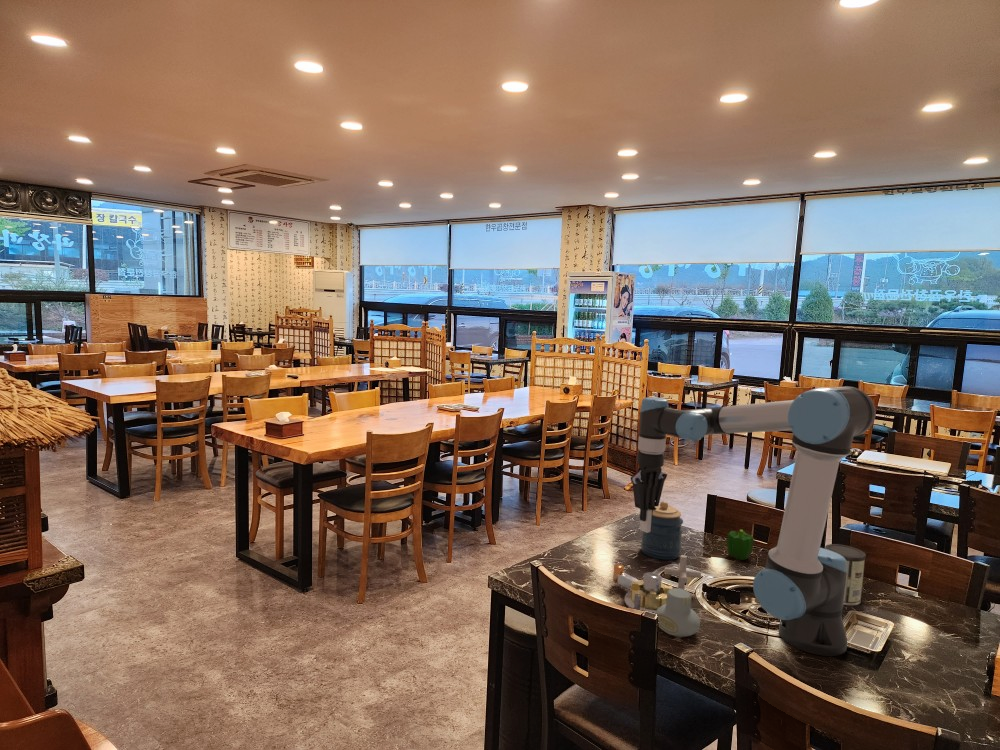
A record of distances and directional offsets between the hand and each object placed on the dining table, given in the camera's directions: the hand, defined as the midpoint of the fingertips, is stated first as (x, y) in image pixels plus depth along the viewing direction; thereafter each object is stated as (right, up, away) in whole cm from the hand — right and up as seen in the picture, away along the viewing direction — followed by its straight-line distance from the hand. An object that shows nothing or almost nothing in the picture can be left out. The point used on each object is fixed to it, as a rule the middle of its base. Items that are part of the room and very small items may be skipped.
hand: (645, 530), depth 178 cm
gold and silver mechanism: (-4, -18, -12) cm, 22 cm away
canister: (+11, -14, +27) cm, 32 cm away
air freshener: (+2, -19, -24) cm, 31 cm away
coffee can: (+56, -19, -1) cm, 60 cm away
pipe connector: (+10, -17, 0) cm, 20 cm away
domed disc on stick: (-3, -15, -7) cm, 17 cm away
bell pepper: (+37, -16, +26) cm, 48 cm away
